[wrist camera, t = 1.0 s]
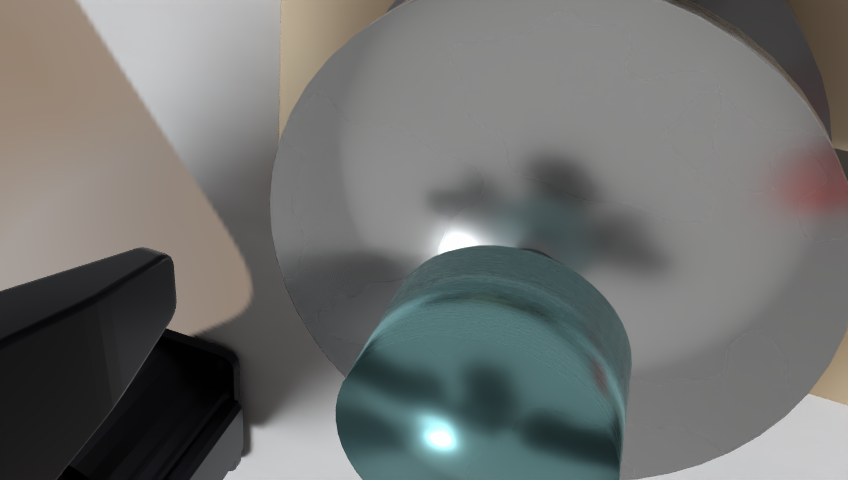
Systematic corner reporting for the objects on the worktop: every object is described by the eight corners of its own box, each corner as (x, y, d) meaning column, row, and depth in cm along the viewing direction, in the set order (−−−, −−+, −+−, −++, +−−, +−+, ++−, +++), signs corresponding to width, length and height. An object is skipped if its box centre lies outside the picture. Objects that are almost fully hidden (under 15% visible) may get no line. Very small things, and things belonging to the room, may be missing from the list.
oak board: (289, 220, 23) (277, 233, 22) (303, -285, 15) (286, -288, 15) (896, 400, 19) (903, 421, 19) (1279, -134, 12) (1312, -129, 12)
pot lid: (284, 365, 15) (157, 543, 11) (296, -93, 10) (80, -28, 6) (717, 511, 13) (725, 770, 10) (989, 52, 8) (1202, 243, 5)
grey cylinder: (390, 209, 20) (336, 284, 17) (434, -149, 15) (369, -133, 12) (858, 342, 18) (892, 456, 15) (1091, -27, 13) (1214, 31, 10)
